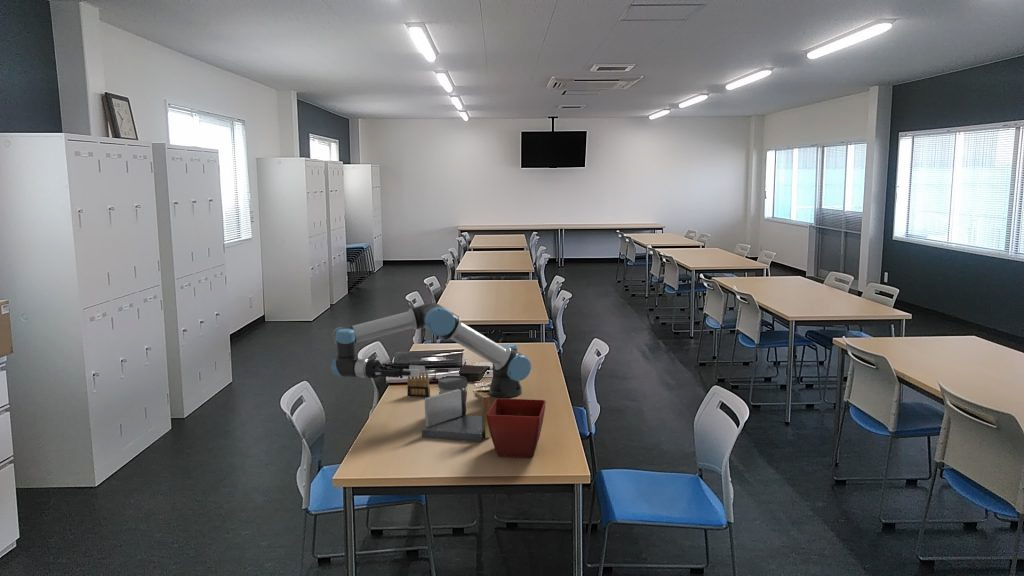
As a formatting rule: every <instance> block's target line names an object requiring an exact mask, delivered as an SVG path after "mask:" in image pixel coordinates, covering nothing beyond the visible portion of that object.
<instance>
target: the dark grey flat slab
mask: <svg viewBox="0 0 1024 576" xmlns="http://www.w3.org/2000/svg"><path fill="white" fill-rule="evenodd" d="M421 438H428V439H429V438H430V439H443V440H451V441H463V440H465V441H466V442H467V441H468V442H477V443H482V441H483V440H485V438H484V430H482V415H479V416H478V415H468V414H466V415H464V416H459V417H456V418H453V419H450V420H447V421H444V422H440V423H437V424H434V425H431V426H426V425H425V426H424V427H423V428H422V429H421ZM465 441H464V442H465Z"/></svg>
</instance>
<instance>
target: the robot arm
mask: <svg viewBox="0 0 1024 576" xmlns="http://www.w3.org/2000/svg"><path fill="white" fill-rule="evenodd" d="M461 320H462V319H461V317H460V316H458V315H457V314H455V313H454V312H452V311H450V310H449V308H446V307H445V306H444V307H443V306H442V305H440V304H438V303H436V302H435V303H434V302H429V303H425V304H421V305H418V306H414V307H410V308H409V309H408V311H404V312H401V313H397V314H393V315H389V316H386V317H385V316H384V317H382V318H378V319H374V320H370V321H366V322H362V323H358V324H355V325H351V326H346V327H343V326H340V327H337V328H335V329H334V330H333V332H332V334H331V339H332V342H333V343H334V344H335V346H336V357H335V358H333V360H332V362H331V365H330V369H331V373H332V374H333V375H334V376H336V377H338V376H339V377H343V378H346V377H348V378H350V377H351V378H361V379H365V378H369V379H377V378H379V377H383V378H384V377H385V378H386V377H387V378H400V379H403V377H408V376H410V377H414V378H415V377H418V378H419V373H421V374H422V373H424V374H426V367H425V365H416V364H415V365H412V364H411V363H410V362H407V363H403V362H402V363H401V362H388V363H385V362H384V363H381V362H380V360H378V359H375V358H374V359H369V358H357V357H356V356H357V355H356V353H357V352H356V344H357V343H361V342H364V341H368V340H372V339H375V338H379V337H383V336H384V337H385V336H387V335H391V334H395V333H399V332H402V331H407V330H410V329H413V330H415V331H416V330H420V329H427V331H429V333H431V334H432V335H435V336H438V337H439V338H441V339H443V340H444V341H449V340H451V341H454V342H455V343H457V344H458V345H460V346H462V347H464V348H465V349H467V350H469V351H471V352H472V353H474V354H476V355H477V356H479V357H481V358H482V359H484V360H486V361H488V362H489V363H491V364H492V379H491V383H490V386H489V394H490V395H489V396H492V397H496V398H513V397H518V396H520V395H521V394H523V392H522V391H523V389H522V388H523V387H522V385H521V381H523V380H525V379H526V378H528V376H529V375H530V373H531V370H532V364H531V360H530V359H529V357H527V356H526V355H524V354H522V353H520V352H518V349H519V348H518V346H517V344H513V343H508V344H507V343H506V344H505V343H504V344H499V343H497V342H496V341H494V340H492V339H490V338H489V337H487V336H485V335H484V334H482V333H480V332H478V331H477V330H475V329H473V328H472V327H470V326H469V325H467V324H465V323H464V322H462V321H461Z"/></svg>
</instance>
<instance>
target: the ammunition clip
mask: <svg viewBox="0 0 1024 576" xmlns="http://www.w3.org/2000/svg"><path fill="white" fill-rule="evenodd" d="M406 390H407V393H406V394H407V397H408V396H410V397H411V398H412V397H413V398H426V397H427V398H428V397H431V391H430V380H429V374H428V372H426V371H425V373H419V377H411V376H407V389H406Z"/></svg>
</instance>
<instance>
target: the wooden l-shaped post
mask: <svg viewBox="0 0 1024 576" xmlns="http://www.w3.org/2000/svg"><path fill="white" fill-rule="evenodd" d="M474 397H475V398H477V399H479V400H481V401H480V402H481V416H482V430H484V440H486V439H490V438H491V434H490V430H489V426H488V421H487V415H486V414H487V413H488V411H489V409H490V408H491V395H489V394H487V393H485V392H483V391H478V392H475V393H474ZM491 439H492V438H491Z"/></svg>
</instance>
